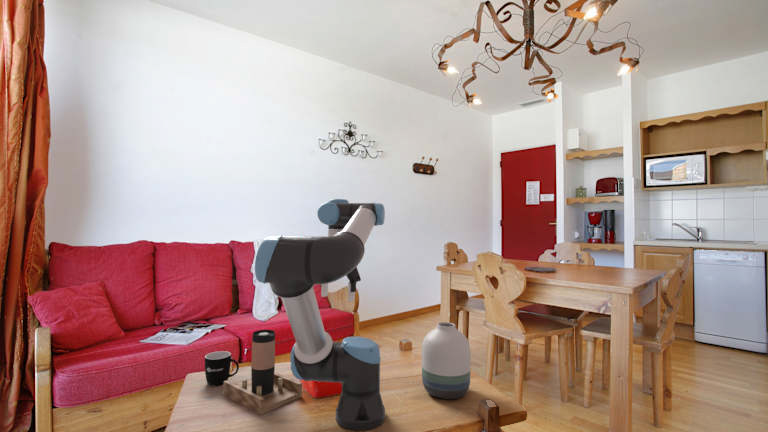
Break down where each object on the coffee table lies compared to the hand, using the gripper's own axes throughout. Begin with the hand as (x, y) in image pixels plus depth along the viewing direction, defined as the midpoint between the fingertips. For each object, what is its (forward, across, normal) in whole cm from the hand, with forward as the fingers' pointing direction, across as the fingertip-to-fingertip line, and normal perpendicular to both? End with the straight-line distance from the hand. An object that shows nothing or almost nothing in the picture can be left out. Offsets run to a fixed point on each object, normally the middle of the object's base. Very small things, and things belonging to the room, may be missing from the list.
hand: (337, 298), depth 139 cm
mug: (+32, +35, +24) cm, 53 cm away
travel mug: (+30, +14, +22) cm, 40 cm away
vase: (+32, -34, -20) cm, 51 cm away
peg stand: (+32, +14, +22) cm, 41 cm away
